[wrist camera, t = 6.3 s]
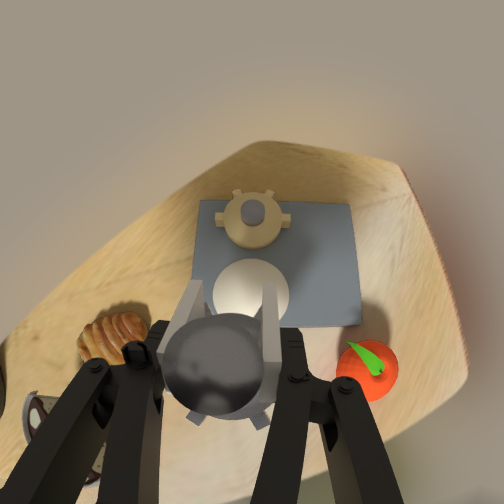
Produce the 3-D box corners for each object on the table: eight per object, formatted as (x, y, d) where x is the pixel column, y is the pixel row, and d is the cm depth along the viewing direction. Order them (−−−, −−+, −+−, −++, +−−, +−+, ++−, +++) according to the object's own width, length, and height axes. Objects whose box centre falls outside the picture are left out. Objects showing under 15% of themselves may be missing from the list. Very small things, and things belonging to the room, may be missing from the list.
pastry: (134, 300, 33) (122, 293, 30) (160, 346, 31) (149, 343, 28) (82, 336, 31) (66, 332, 28) (104, 381, 29) (89, 382, 26)
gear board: (190, 331, 32) (179, 325, 27) (202, 202, 39) (196, 180, 34) (358, 332, 32) (374, 326, 27) (345, 206, 38) (356, 185, 34)
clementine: (311, 364, 30) (326, 363, 24) (353, 325, 32) (376, 314, 25) (352, 410, 28) (376, 419, 21) (392, 370, 29) (422, 368, 23)
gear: (166, 416, 17) (96, 447, 8) (174, 305, 20) (115, 251, 11) (295, 424, 17) (334, 472, 7) (298, 311, 20) (336, 259, 11)
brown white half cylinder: (53, 414, 26) (6, 418, 17) (74, 389, 28) (25, 390, 19) (113, 483, 23) (74, 508, 14) (137, 460, 25) (100, 486, 16)
